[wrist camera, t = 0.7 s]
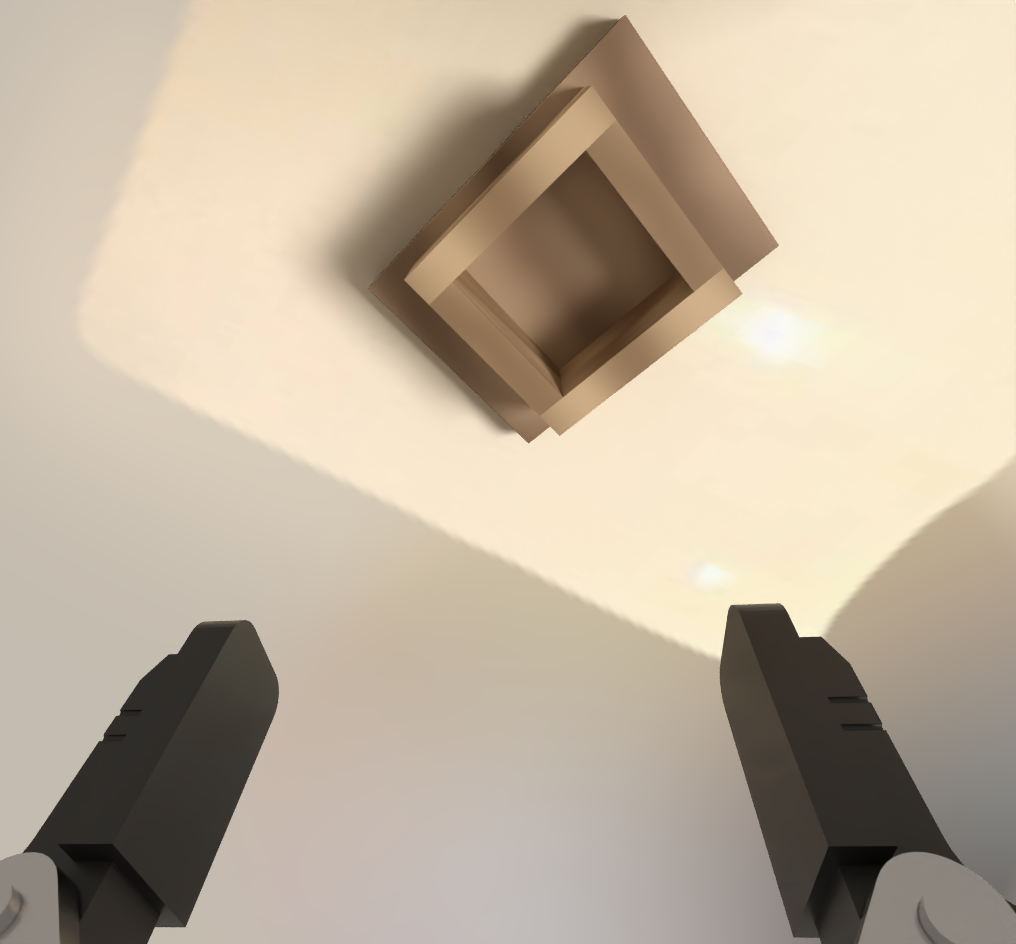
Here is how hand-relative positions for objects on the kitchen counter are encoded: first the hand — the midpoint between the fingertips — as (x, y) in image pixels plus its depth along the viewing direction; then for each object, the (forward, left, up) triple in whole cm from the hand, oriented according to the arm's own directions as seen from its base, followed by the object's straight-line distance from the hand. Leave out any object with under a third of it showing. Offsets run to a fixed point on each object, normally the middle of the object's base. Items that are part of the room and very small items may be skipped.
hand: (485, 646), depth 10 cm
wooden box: (-3, +1, -25) cm, 25 cm away
